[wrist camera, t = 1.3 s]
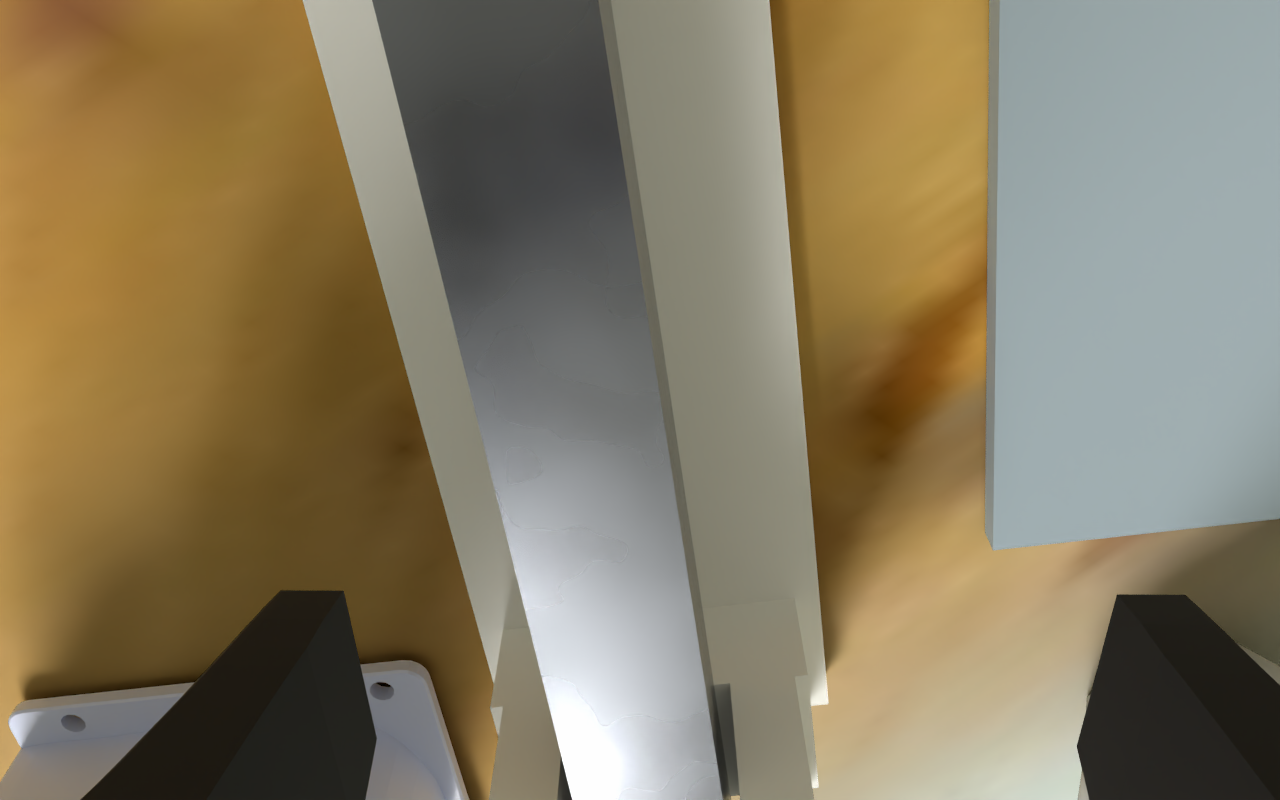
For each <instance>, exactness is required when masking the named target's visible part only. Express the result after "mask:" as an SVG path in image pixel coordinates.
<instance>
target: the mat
mask: <svg viewBox="0 0 1280 800" xmlns="http://www.w3.org/2000/svg"><path fill="white" fill-rule="evenodd" d="M1273 519H1280V0H989V109H988V234H987V359H986V483H985V533H986V536H987V538H988V540H989V542H990V545H991V547H992V549H993V550H1000V549H1010V548H1019V547H1028V546H1037V545H1046V544H1055V543H1064V542H1073V541H1082V540H1091V539H1101V538H1110V537H1119V536H1128V535H1137V534H1146V533H1155V532H1164V531H1173V530H1182V529H1191V528H1201V527H1210V526H1219V525H1228V524H1237V523H1246V522H1255V521H1264V520H1273Z"/></svg>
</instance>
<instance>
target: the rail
mask: <svg viewBox="0 0 1280 800" xmlns="http://www.w3.org/2000/svg"><path fill="white" fill-rule="evenodd" d="M372 2H373V6H374V10H375V14H376V18H377V22H378V26H379V30H380V34H381V38H382V42H383V46H384V50H385V54H386V58H387V61H388V65H389V69H390V73H391V77H392V81H393V85H394V89H395V93H396V97H397V101H398V105H399V109H400V113H401V117H402V121H403V125H404V129H405V133H406V137H407V141H408V145H409V149H410V153H411V157H412V161H413V165H414V169H415V173H416V177H417V181H418V185H419V189H420V193H421V197H422V201H423V205H424V209H425V213H426V217H427V221H428V225H429V229H430V233H431V237H432V241H433V245H434V249H435V253H436V257H437V261H438V265H439V269H440V273H441V277H442V281H443V285H444V289H445V293H446V297H447V301H448V305H449V309H450V313H451V317H452V321H453V325H454V329H455V333H456V337H457V341H458V345H459V349H460V353H461V357H462V361H463V365H464V369H465V373H466V377H467V381H468V385H469V389H470V393H471V397H472V401H473V405H474V409H475V413H476V417H477V421H478V425H479V429H480V433H481V437H482V441H483V445H484V449H485V453H486V457H487V461H488V465H489V469H490V473H491V477H492V481H493V485H494V489H495V493H496V497H497V501H498V505H499V509H500V513H501V517H502V521H503V525H504V529H505V533H506V537H507V541H508V545H509V549H510V553H511V557H512V561H513V565H514V569H515V573H516V577H517V581H518V585H519V589H520V593H521V597H522V601H523V605H524V609H525V613H526V617H527V621H528V625H529V629H530V633H531V637H532V641H533V645H534V649H535V653H536V657H537V661H538V665H539V669H540V673H541V677H542V681H543V685H544V689H545V693H546V697H547V701H548V705H549V709H550V713H551V717H552V720H553V724H554V728H555V732H556V736H557V740H558V744H559V748H560V752H561V756H562V760H563V764H564V768H565V772H566V776H567V780H568V784H569V788H570V792H571V796H572V800H731V795H730V789H729V782H728V775H727V769H726V762H725V755H724V749H723V742H722V735H721V729H720V722H719V716H718V709H717V702H716V696H715V689H714V682H713V676H712V669H711V662H710V656H709V649H708V642H707V636H706V629H705V622H704V616H703V609H702V603H701V596H700V589H699V583H698V576H697V569H696V563H695V556H694V549H693V543H692V536H691V529H690V523H689V516H688V509H687V503H686V496H685V489H684V483H683V476H682V470H681V463H680V456H679V450H678V443H677V436H676V430H675V423H674V416H673V410H672V403H671V396H670V390H669V383H668V376H667V370H666V363H665V357H664V350H663V343H662V337H661V330H660V323H659V317H658V310H657V303H656V297H655V290H654V283H653V277H652V270H651V263H650V257H649V250H648V244H647V237H646V230H645V224H644V217H643V210H642V204H641V197H640V190H639V184H638V177H637V170H636V164H635V157H634V150H633V144H632V137H631V131H630V124H629V117H628V111H627V104H626V97H625V91H624V84H623V77H622V71H621V64H620V57H619V51H618V44H617V37H616V31H615V24H614V18H613V11H612V4H611V0H372Z"/></svg>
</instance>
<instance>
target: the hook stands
mask: <svg viewBox="0 0 1280 800" xmlns="http://www.w3.org/2000/svg"><path fill="white" fill-rule="evenodd" d="M303 3H304V7H305V11H306V14H307V18H308V21H309V25H310V28H311V32H312V36H313V39H314V43H315V46H316V50H317V53H318V57H319V61H320V64H321V68H322V71H323V75H324V79H325V82H326V86H327V89H328V93H329V96H330V100H331V104H332V107H333V111H334V114H335V118H336V121H337V125H338V129H339V132H340V136H341V139H342V143H343V146H344V150H345V154H346V157H347V161H348V164H349V168H350V172H351V175H352V179H353V182H354V186H355V189H356V193H357V197H358V200H359V204H360V207H361V211H362V214H363V218H364V222H365V225H366V229H367V232H368V236H369V240H370V243H371V247H372V250H373V254H374V257H375V261H376V265H377V268H378V272H379V275H380V279H381V282H382V286H383V290H384V293H385V297H386V300H387V304H388V307H389V311H390V315H391V318H392V322H393V325H394V329H395V333H396V336H397V340H398V343H399V347H400V350H401V354H402V358H403V361H404V365H405V368H406V372H407V375H408V379H409V383H410V386H411V390H412V393H413V397H414V401H415V404H416V408H417V411H418V415H419V418H420V422H421V426H422V429H423V433H424V436H425V440H426V443H427V447H428V451H429V454H430V458H431V461H432V465H433V469H434V472H435V476H436V479H437V483H438V486H439V490H440V494H441V497H442V501H443V504H444V508H445V511H446V515H447V519H448V522H449V526H450V529H451V533H452V536H453V540H454V544H455V547H456V551H457V554H458V558H459V562H460V565H461V569H462V572H463V576H464V579H465V583H466V587H467V590H468V594H469V597H470V601H471V604H472V608H473V612H474V615H475V619H476V622H477V626H478V630H479V633H480V637H481V640H482V644H483V647H484V651H485V655H486V658H487V662H488V665H489V669H490V672H491V676H492V680H493V683H494V687H493V693H492V699H491V705H490V709H491V713H492V716H493V720H494V723H495V727H496V730H497V734H498V743H497V750H496V756H495V763H494V769H493V776H492V783H491V789H490V796H489V800H572V796H571V792H570V788H569V784H568V780H567V776H566V772H565V768H564V764H563V760H562V756H561V752H560V748H559V744H558V740H557V736H556V732H555V728H554V724H553V720H552V717H551V713H550V709H549V705H548V701H547V697H546V693H545V689H544V685H543V681H542V677H541V673H540V669H539V665H538V661H537V657H536V653H535V649H534V645H533V641H532V637H531V633H530V629H529V625H528V621H527V617H526V613H525V609H524V605H523V601H522V597H521V593H520V589H519V585H518V581H517V577H516V573H515V569H514V565H513V561H512V557H511V553H510V549H509V545H508V541H507V537H506V533H505V529H504V525H503V521H502V517H501V513H500V509H499V505H498V501H497V497H496V493H495V489H494V485H493V481H492V477H491V473H490V469H489V465H488V461H487V457H486V453H485V449H484V445H483V441H482V437H481V433H480V429H479V425H478V421H477V417H476V413H475V409H474V405H473V401H472V397H471V393H470V389H469V385H468V381H467V377H466V373H465V369H464V365H463V361H462V357H461V353H460V349H459V345H458V341H457V337H456V333H455V329H454V325H453V321H452V317H451V313H450V309H449V305H448V301H447V297H446V293H445V289H444V285H443V281H442V277H441V273H440V269H439V265H438V261H437V257H436V253H435V249H434V245H433V241H432V237H431V233H430V229H429V225H428V221H427V217H426V213H425V209H424V205H423V201H422V197H421V193H420V189H419V185H418V181H417V177H416V173H415V169H414V165H413V161H412V157H411V153H410V149H409V145H408V141H407V137H406V133H405V129H404V125H403V121H402V117H401V113H400V109H399V105H398V101H397V97H396V93H395V89H394V85H393V81H392V77H391V73H390V69H389V65H388V61H387V58H386V54H385V50H384V46H383V42H382V38H381V34H380V30H379V26H378V22H377V18H376V14H375V10H374V6H373V2H372V0H303ZM611 4H612V11H613V18H614V24H615V31H616V37H617V44H618V51H619V57H620V64H621V71H622V77H623V84H624V91H625V97H626V104H627V111H628V117H629V124H630V131H631V137H632V144H633V150H634V157H635V164H636V170H637V177H638V184H639V190H640V197H641V204H642V210H643V217H644V224H645V230H646V237H647V244H648V250H649V257H650V263H651V270H652V277H653V283H654V290H655V297H656V303H657V310H658V317H659V323H660V330H661V337H662V343H663V350H664V357H665V363H666V370H667V376H668V383H669V390H670V396H671V403H672V410H673V416H674V423H675V430H676V436H677V443H678V450H679V456H680V463H681V470H682V476H683V483H684V489H685V496H686V503H687V509H688V516H689V523H690V529H691V536H692V543H693V549H694V556H695V563H696V569H697V576H698V583H699V589H700V596H701V603H702V609H703V616H704V622H705V629H706V636H707V642H708V649H709V656H710V662H711V669H712V676H713V682H714V689H715V696H716V702H717V709H718V716H719V722H720V729H721V735H722V742H723V749H724V755H725V762H726V769H727V775H728V782H729V789H730V795H731V796H736V795H740V800H814V795H813V789H812V788H819V786H818V775H817V765H816V754H815V743H814V733H813V722H812V712H811V706H814V705H824V704H828V692H827V680H826V669H825V657H824V645H823V633H822V621H821V609H820V597H819V585H818V573H817V562H816V550H815V538H814V526H813V514H812V502H811V490H810V478H809V466H808V455H807V443H806V431H805V419H804V407H803V395H802V383H801V371H800V359H799V348H798V336H797V324H796V312H795V300H794V288H793V276H792V264H791V252H790V241H789V229H788V217H787V205H786V193H785V181H784V169H783V157H782V146H781V134H780V122H779V110H778V98H777V86H776V74H775V62H774V50H773V39H772V27H771V15H770V3H769V0H611Z"/></svg>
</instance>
